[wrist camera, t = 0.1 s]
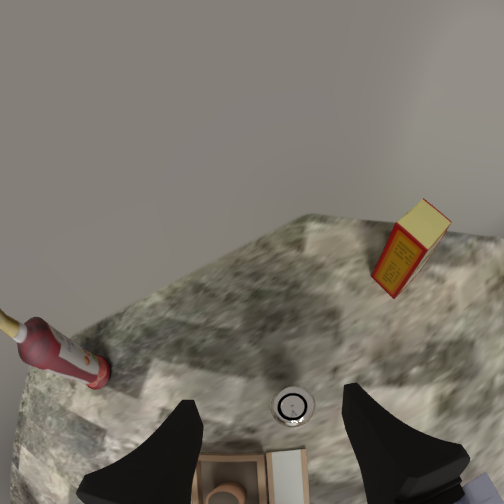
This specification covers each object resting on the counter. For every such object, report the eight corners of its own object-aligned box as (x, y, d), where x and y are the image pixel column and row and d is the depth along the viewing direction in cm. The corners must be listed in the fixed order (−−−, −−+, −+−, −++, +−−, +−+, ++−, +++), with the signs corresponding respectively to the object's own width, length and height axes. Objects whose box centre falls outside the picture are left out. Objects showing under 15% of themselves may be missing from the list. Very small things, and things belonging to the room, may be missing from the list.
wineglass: (265, 417, 38) (260, 415, 28) (282, 387, 41) (282, 374, 31) (298, 431, 36) (305, 434, 26) (314, 400, 39) (326, 392, 29)
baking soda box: (398, 251, 53) (424, 196, 40) (419, 271, 50) (452, 220, 37) (370, 276, 50) (395, 221, 37) (393, 299, 47) (427, 249, 34)
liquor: (120, 374, 43) (7, 309, 21) (98, 399, 40) (-21, 350, 18) (100, 349, 46) (-3, 274, 24) (79, 372, 43) (-29, 311, 21)
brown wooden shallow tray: (269, 529, 26) (268, 535, 23) (200, 527, 26) (195, 533, 24) (264, 452, 34) (263, 454, 32) (195, 452, 35) (189, 454, 32)
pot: (248, 507, 28) (243, 518, 23) (216, 506, 28) (206, 517, 23) (246, 481, 31) (240, 489, 26) (214, 480, 31) (204, 488, 26)
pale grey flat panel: (310, 525, 25) (310, 527, 25) (271, 529, 26) (271, 531, 25) (305, 448, 34) (305, 449, 33) (266, 452, 34) (266, 452, 34)
